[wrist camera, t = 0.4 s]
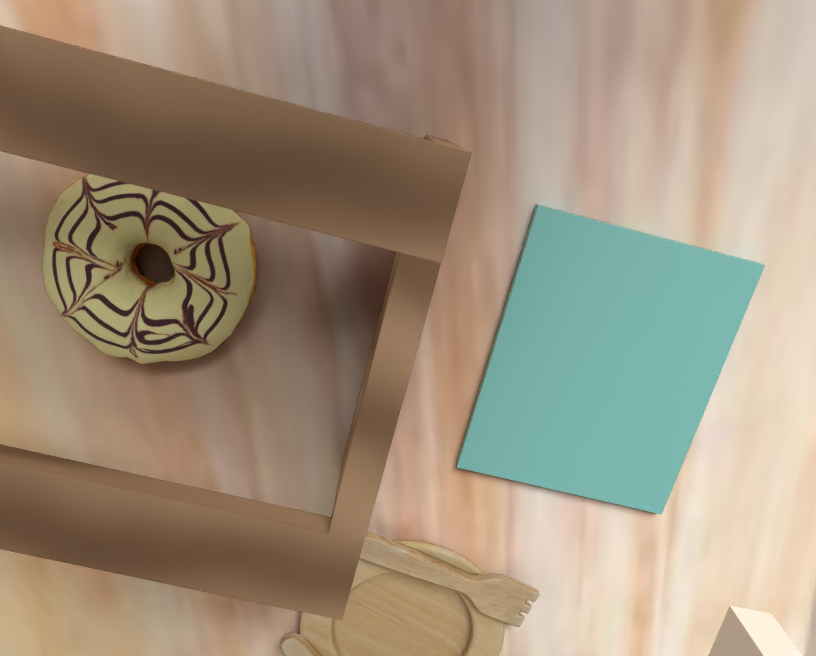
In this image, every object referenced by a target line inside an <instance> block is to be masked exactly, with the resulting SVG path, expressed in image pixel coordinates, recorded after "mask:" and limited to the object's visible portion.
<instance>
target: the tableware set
mask: <svg viewBox="0 0 816 656" xmlns="http://www.w3.org/2000/svg"><path fill="white" fill-rule="evenodd" d="M538 596H539V591H538V590H536V589H535V588H533V587H530V586H528V585H526V584H523V583H521V582H519V581H516V580H514V579H511V578H509V577H506V576H504V575H502V574H489V575H484V574H483V573H482V572H481V571H480V570H479V569H478V568H477V567H476V566H475V565H474V564H472V563H471V562H470V561H468V560H467V559H465V558H464V557H462V556H461V555H459V554H457V553H455V552H453V551H451V550H449V549H446V548H443V547H441V546H437V545H434V544H431V543H426V542H419V541H404V540H400V541H390V540H388V539H385V538H383V537H381V536H378V535H376V534H373V533H371V532H367V533H366V536H365V540H364V543H363V547H362V551H361V554H360V558H359V562H358V565H357V569H356V572H355V576H354V580H353V583H352V587H351V591H350V594H349V598H348V601H347V605H346V609H345V612H344V616H343V619H342V620H338V619H333V618H328V617H324V616H319V615H314V614H309V613H305V612H302V613H301V618H300V634H297V633H289V634H286V635H285V636H284V637H283V639H282V644H281V649H282V652H283V653H284V654H285V655H286V656H499V654H500V651H501V648H502V644H503V639H504V622H505V623H508V624H510V625H513V626H517V627H520V625H521V623H522V622H523V620H524V619H525V618H524V616H523V615H521V614H519V612H520V611H521V612H524V613H527V614H528V613H529V611H530V609H531V605H530V604H529V603H527V602H526V601H527V600H530V601H533V602H535V601H536V599H537V598H538Z"/></svg>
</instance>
